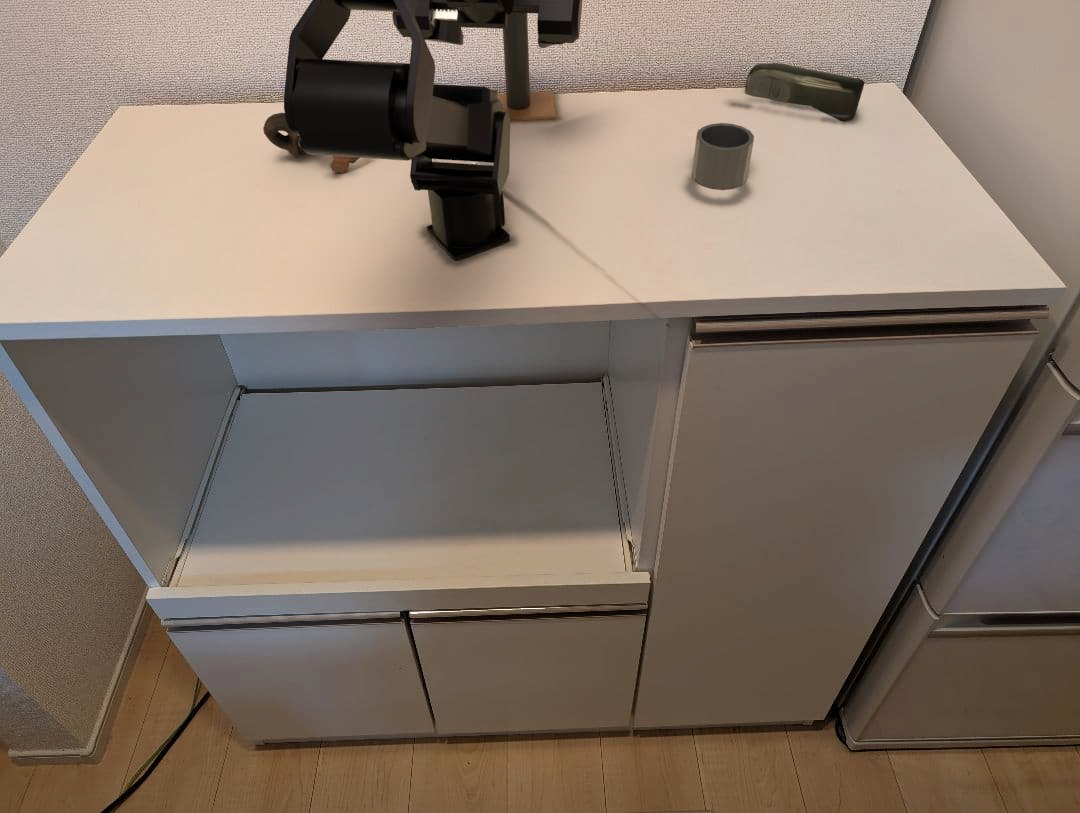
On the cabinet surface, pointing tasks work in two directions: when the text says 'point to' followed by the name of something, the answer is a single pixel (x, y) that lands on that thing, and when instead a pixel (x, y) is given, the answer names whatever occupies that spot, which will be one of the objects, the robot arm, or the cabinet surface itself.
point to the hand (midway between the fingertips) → (502, 41)
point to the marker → (517, 61)
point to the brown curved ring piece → (296, 141)
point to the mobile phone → (806, 88)
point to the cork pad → (532, 107)
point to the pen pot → (722, 156)
